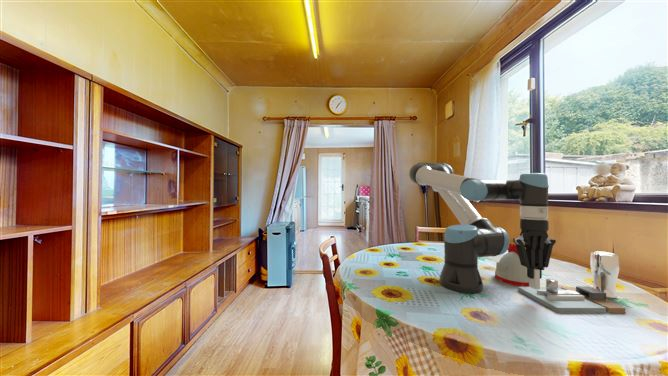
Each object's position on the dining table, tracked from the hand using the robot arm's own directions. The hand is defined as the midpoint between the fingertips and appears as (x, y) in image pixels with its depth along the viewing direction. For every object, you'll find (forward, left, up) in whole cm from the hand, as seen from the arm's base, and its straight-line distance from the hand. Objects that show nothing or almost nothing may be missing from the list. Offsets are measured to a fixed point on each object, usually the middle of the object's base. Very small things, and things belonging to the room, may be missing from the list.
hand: (534, 287), depth 83 cm
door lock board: (+11, 0, -5) cm, 12 cm away
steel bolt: (+10, 0, -3) cm, 10 cm away
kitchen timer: (+8, +19, -5) cm, 21 cm away
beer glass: (+30, +5, -5) cm, 31 cm away
